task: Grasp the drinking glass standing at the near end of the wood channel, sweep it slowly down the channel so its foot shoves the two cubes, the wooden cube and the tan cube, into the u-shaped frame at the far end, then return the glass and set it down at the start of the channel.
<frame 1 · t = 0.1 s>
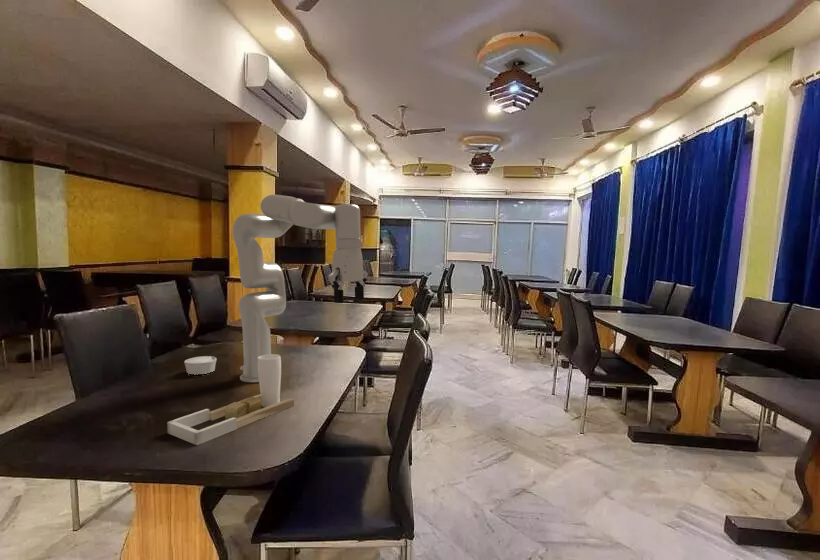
hand: (349, 301, 133), 31 cm above the table, tool pointing down, fingers open, 9 cm apart
tan cube: (236, 418, 122), on the table
wooden cube: (251, 413, 126), on the table
ramekin: (201, 373, 168), on the table
u-shaped frame: (202, 431, 113), on the table
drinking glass: (270, 405, 132), on the table
channel: (252, 412, 126), on the table
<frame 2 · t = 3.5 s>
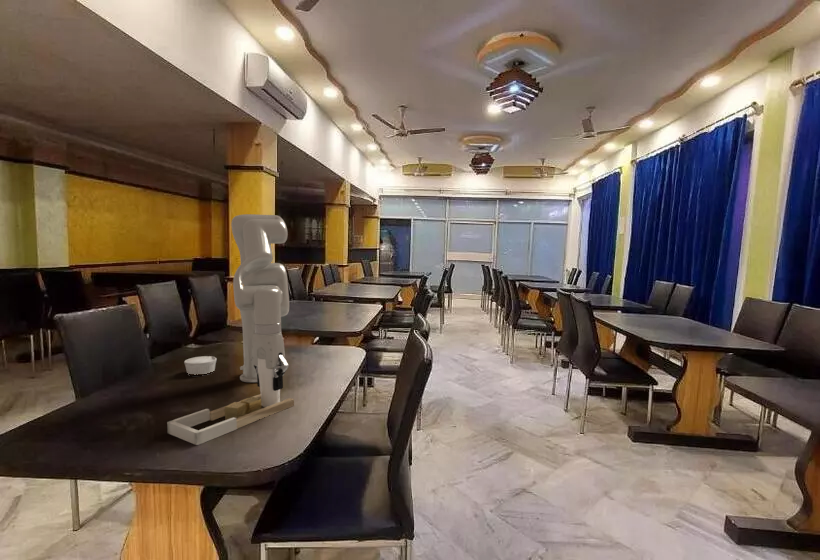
hand: (270, 387, 131), 6 cm above the table, tool pointing down, fingers closed on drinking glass, 6 cm apart
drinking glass: (270, 405, 132), on the table, touching gripper
everything else where it was.
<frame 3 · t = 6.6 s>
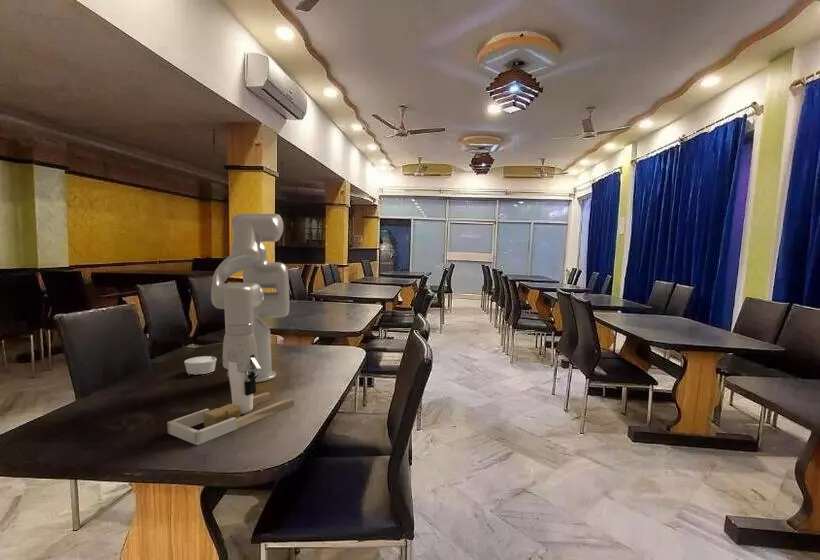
hand: (242, 391, 123), 7 cm above the table, tool pointing down, fingers closed on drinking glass, 6 cm apart
tan cube: (215, 426, 116), on the table, touching wooden cube
wooden cube: (229, 421, 120), on the table, touching tan cube, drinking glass
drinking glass: (243, 411, 124), point 1 cm above the table, touching wooden cube, gripper
everything else where it was.
when the fingers open (7 cm above the table, at t = 13.2 s): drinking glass stays where it is, on the table.
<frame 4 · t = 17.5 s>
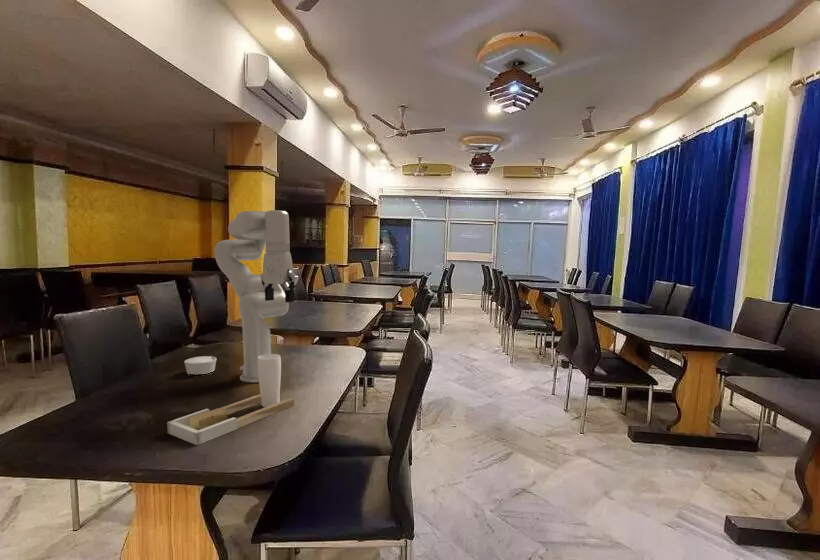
hand: (279, 301, 142), 30 cm above the table, tool pointing down, fingers open, 9 cm apart
tan cube: (201, 431, 113), on the table
wooden cube: (216, 426, 117), on the table
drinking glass: (270, 405, 132), on the table
everything else where it was.
at the end: wooden cube inside the target area on the u-shaped frame (3.8 cm from its centre), point 0.0 cm above the u-shaped frame's base; tan cube inside the target area on the u-shaped frame (0.4 cm from its centre), point 0.0 cm above the u-shaped frame's base; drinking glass inside the target area (0.2 cm from its centre), on the table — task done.
